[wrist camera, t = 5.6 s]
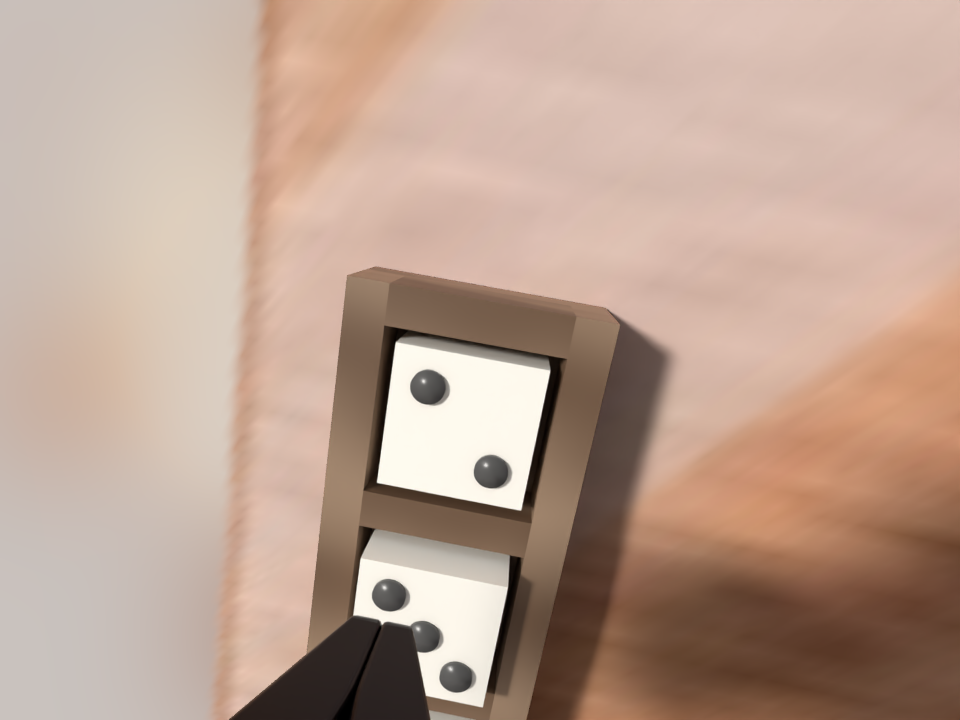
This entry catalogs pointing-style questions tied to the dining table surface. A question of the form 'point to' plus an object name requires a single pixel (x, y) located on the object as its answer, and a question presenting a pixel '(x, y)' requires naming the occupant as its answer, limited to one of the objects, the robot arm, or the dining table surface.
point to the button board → (521, 534)
